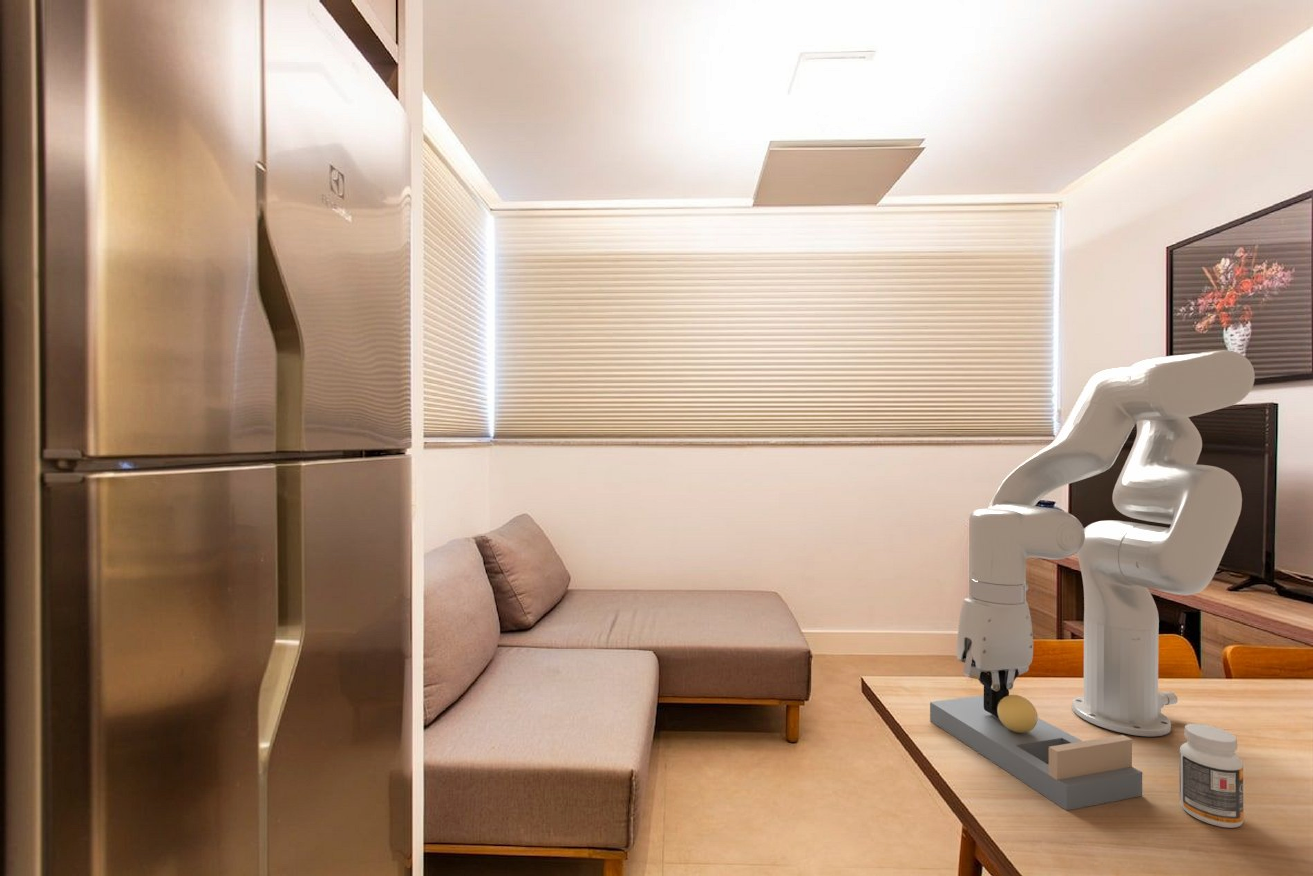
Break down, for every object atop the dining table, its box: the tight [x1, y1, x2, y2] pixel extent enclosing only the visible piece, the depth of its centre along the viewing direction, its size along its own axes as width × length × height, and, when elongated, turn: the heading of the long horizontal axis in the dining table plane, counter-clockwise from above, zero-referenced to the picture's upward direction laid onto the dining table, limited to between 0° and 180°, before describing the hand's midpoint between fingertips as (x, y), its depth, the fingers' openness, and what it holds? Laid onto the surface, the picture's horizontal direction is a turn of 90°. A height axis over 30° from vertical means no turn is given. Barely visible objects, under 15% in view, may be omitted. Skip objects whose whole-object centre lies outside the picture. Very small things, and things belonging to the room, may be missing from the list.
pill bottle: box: [1179, 723, 1244, 829], centre depth 73 cm, size 6×6×10 cm
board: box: [929, 694, 1143, 811], centre depth 87 cm, size 12×24×6 cm, turn 15°
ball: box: [997, 694, 1039, 733], centre depth 88 cm, size 5×5×5 cm
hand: (996, 713), depth 92 cm, fingers closed
